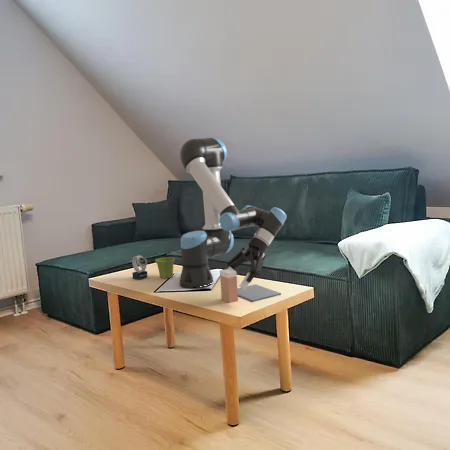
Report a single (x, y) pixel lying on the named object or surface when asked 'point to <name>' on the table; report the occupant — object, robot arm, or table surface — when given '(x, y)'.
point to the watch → (139, 273)
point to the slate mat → (256, 293)
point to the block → (228, 285)
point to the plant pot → (165, 267)
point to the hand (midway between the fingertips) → (232, 284)
